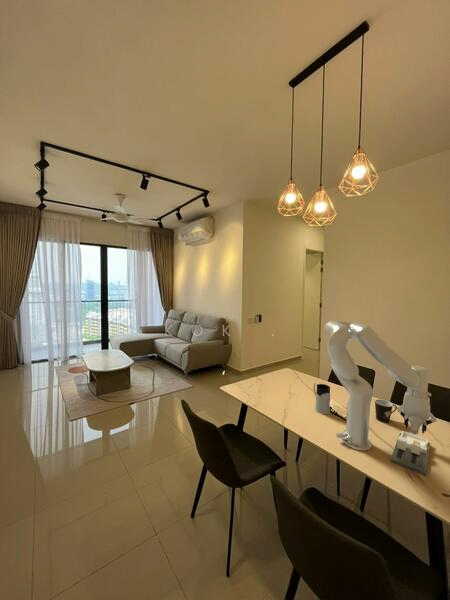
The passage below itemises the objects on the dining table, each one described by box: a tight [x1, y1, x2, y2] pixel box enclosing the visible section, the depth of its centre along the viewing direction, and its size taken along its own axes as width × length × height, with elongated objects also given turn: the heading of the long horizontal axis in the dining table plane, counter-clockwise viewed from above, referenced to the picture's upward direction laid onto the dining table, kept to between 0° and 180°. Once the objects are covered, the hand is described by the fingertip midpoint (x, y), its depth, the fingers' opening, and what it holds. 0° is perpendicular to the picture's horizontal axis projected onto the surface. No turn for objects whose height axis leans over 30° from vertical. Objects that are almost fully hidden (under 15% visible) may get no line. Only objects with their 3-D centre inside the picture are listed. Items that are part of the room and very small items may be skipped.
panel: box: [389, 432, 431, 477], centre depth 114 cm, size 26×12×1 cm, turn 138°
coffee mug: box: [374, 398, 398, 424], centre depth 141 cm, size 12×9×10 cm
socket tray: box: [400, 430, 429, 453], centre depth 120 cm, size 10×10×2 cm
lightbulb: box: [408, 415, 423, 436], centre depth 119 cm, size 6×6×11 cm
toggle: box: [397, 435, 407, 451], centre depth 116 cm, size 4×3×4 cm
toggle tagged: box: [411, 440, 421, 455], centre depth 113 cm, size 4×3×4 cm
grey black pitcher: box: [313, 382, 331, 415], centre depth 154 cm, size 9×14×15 cm, turn 12°
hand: (414, 429), depth 119 cm, fingers closed on lightbulb, 5 cm apart
